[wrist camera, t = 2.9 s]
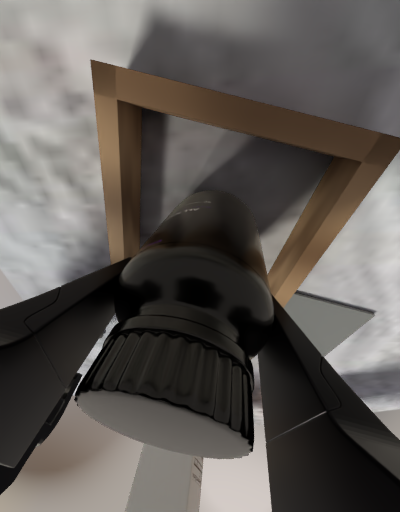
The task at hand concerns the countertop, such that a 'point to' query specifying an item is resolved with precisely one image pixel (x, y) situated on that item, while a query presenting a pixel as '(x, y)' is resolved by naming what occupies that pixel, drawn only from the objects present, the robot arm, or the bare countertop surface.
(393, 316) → the countertop surface
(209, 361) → the supplement bottle
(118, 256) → the frame
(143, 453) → the supplement box
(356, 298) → the countertop surface
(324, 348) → the slate mat
